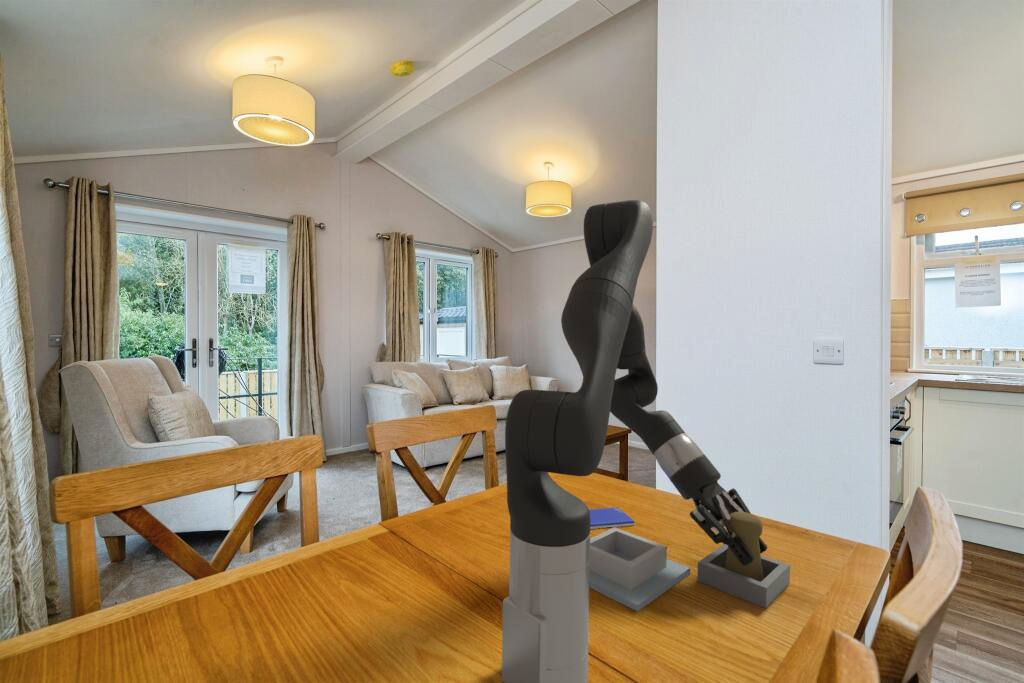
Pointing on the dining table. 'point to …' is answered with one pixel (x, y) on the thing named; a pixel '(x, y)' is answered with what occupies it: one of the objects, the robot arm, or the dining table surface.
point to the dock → (631, 568)
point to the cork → (749, 533)
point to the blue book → (609, 518)
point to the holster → (744, 578)
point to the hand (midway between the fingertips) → (756, 556)
